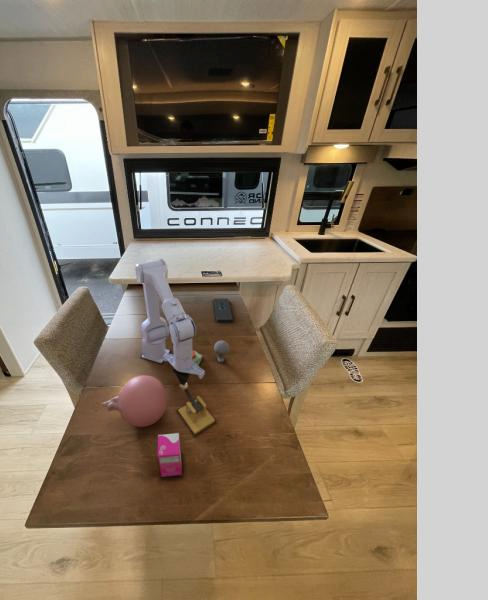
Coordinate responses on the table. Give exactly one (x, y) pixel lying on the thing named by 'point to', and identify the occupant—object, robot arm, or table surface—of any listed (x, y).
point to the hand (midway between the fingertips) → (183, 383)
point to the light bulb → (221, 350)
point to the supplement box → (169, 455)
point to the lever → (191, 398)
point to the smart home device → (223, 310)
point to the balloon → (140, 401)
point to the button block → (197, 358)
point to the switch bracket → (196, 416)
